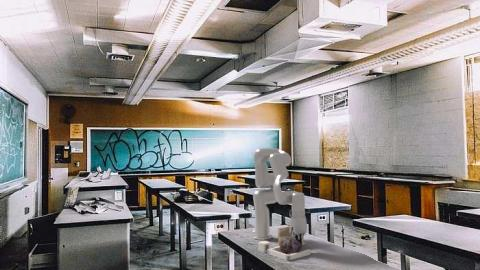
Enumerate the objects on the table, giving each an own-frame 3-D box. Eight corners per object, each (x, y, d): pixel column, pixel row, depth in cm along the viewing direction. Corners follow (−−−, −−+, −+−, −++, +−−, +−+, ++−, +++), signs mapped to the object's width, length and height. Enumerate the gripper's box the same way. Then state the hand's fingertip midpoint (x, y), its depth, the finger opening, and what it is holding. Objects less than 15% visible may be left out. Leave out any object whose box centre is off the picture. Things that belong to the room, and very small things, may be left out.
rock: (292, 260, 207) (304, 256, 213) (294, 245, 206) (306, 241, 212) (277, 252, 216) (289, 248, 222) (278, 238, 215) (290, 234, 221)
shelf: (275, 247, 227) (275, 227, 227) (299, 242, 239) (298, 223, 239) (282, 250, 222) (282, 229, 223) (306, 244, 234) (305, 224, 235)
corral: (267, 253, 216) (267, 249, 216) (289, 248, 226) (289, 243, 226) (288, 260, 202) (288, 255, 202) (310, 254, 213) (310, 249, 213)
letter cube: (258, 250, 222) (258, 242, 222) (264, 249, 225) (264, 240, 225) (264, 252, 218) (263, 243, 218) (270, 251, 221) (270, 242, 221)
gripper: (302, 211, 227) (303, 242, 227) (284, 214, 218) (285, 246, 218) (312, 213, 221) (312, 245, 221) (293, 216, 212) (294, 249, 212)
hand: (299, 245), depth 219 cm, fingers closed
